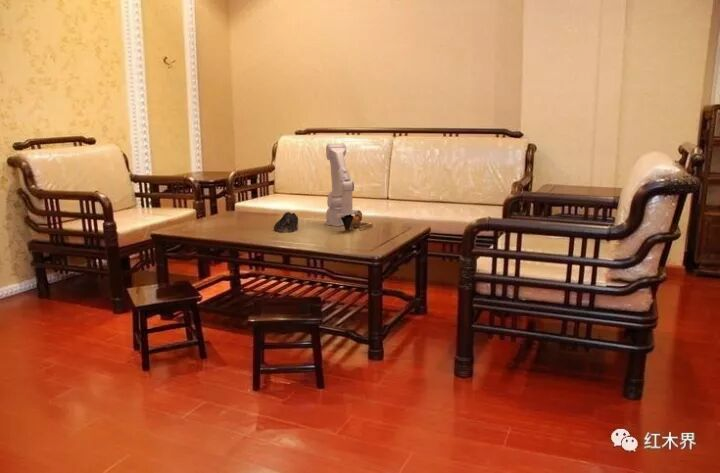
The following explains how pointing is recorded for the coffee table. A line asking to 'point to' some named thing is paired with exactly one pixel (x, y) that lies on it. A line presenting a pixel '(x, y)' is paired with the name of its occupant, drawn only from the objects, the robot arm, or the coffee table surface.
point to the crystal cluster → (287, 223)
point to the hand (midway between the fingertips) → (347, 229)
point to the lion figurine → (356, 219)
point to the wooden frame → (363, 225)
